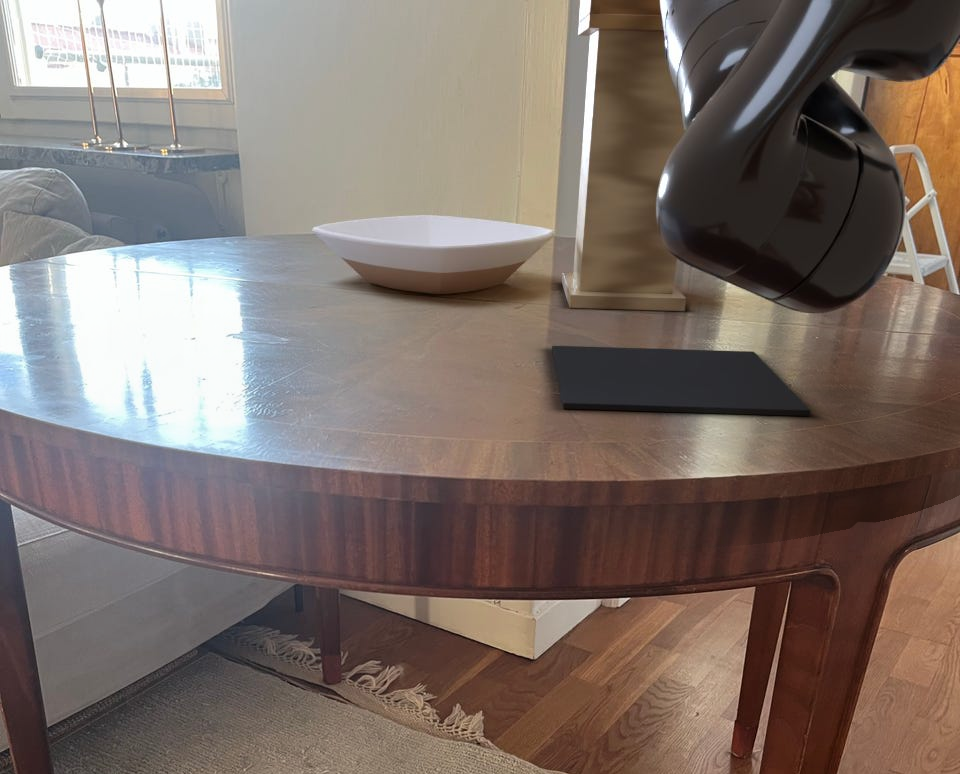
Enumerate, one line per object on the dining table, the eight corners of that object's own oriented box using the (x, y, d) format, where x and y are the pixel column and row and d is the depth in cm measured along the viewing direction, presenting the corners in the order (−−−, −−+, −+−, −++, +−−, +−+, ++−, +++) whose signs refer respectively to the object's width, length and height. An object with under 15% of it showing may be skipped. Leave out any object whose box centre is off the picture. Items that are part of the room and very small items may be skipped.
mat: (753, 356, 75) (754, 351, 75) (809, 416, 62) (810, 410, 61) (551, 350, 76) (552, 345, 75) (563, 408, 62) (563, 402, 61)
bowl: (446, 311, 88) (446, 250, 85) (288, 281, 99) (284, 226, 96) (577, 283, 102) (581, 230, 100) (426, 260, 114) (426, 212, 111)
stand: (664, 286, 102) (698, -6, 89) (684, 311, 91) (727, -20, 78) (561, 283, 102) (580, -9, 89) (569, 307, 91) (592, -24, 78)
